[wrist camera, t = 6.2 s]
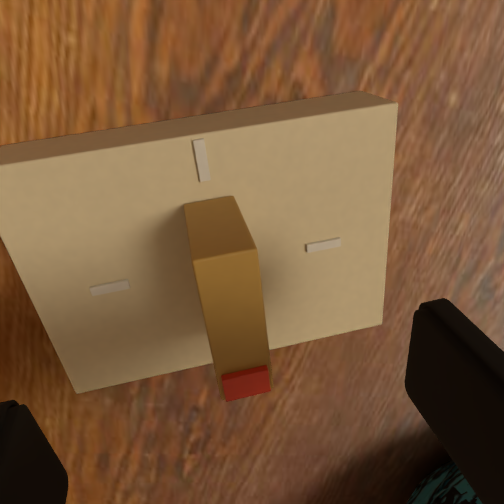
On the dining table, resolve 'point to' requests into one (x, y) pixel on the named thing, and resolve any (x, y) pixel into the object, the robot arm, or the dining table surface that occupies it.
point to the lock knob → (230, 296)
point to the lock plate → (175, 231)
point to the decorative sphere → (444, 488)
